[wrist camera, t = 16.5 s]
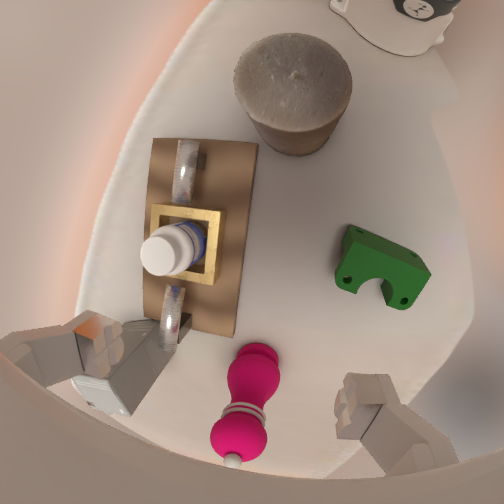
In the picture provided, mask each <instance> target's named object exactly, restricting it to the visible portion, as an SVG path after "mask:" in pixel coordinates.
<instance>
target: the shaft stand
mask: <svg viewBox="0 0 504 504" xmlns="http://www.w3.org/2000/svg"><path fill="white" fill-rule="evenodd" d="M257 151H258V144H257V143H249V142H238V141H225V140H209V139H184V138H153V144H152V151H151V159H150V167H149V176H148V186H147V196H146V209H145V224H144V241H145V240H147V239H148V238H149V237H150V235H151V234H152V233H153V232H154V231H155V230H156V229H158V228H160V227H162V226H166V225H170V224H174V223H177V222H181V221H185V220H193V221H196V222H198V223H200V224H201V225H202V226H204V228H205V229H206V230H207V232H208V238H207V249H206V254H205V255H204V256H203V257H202V258H201V259H199V260H198V261H197V262H195V263H194V264H193V265H191V266H190V267H189V268H187V269H186V270H185V271H183V272H182V273H180V274H177V275H163V276H156V275H153V274H151V273H149V272H148V271H147V270H146V269H145V267H144V266H143V309H144V317H147V318H150V319H154V320H158V321H161V323H160V330H159V338H158V346H157V347H158V348H159V349H160V350H163V351H168V352H174V351H176V348H177V344H179V343H180V342H181V341H182V339H183V338H184V336H185V335H186V334H187V332H188V331H189V330H190V329H193V330H197V331H202V332H206V333H210V334H215V335H220V336H224V337H229V338H233V335H234V332H235V324H236V316H237V307H238V299H239V291H240V283H241V275H242V267H243V259H244V251H245V243H246V235H247V227H248V219H249V212H250V204H251V196H252V189H253V181H254V173H255V166H256V158H257Z"/></svg>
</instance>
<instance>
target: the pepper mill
mask: <svg viewBox="0 0 504 504" xmlns="http://www.w3.org/2000/svg"><path fill="white" fill-rule="evenodd" d="M227 380H228V387H229V390H230V393H231V397H232V400H231V403H230V404H229V405H227V406H226V407H225V408H224V410H223V414H222V415H221V419H220V420H218V421H217V422H216V423H215V424H214V426H213V428H212V430H211V435H210V441H211V445H212V447H213V449H214V450H215V452H216V453H218V454H219V455H220V456H221V457H223V458H224V464H225V466H226V467H229V468H233V469H236V468H238V467H239V466H240V465H241V463H242V462H247V461H250V460H253V459H255V458H257V457H258V456H259V455H260V454H261V453H262V452H263V450H264V449H265V447H266V443H267V433H266V431H265V429H264V427H265V421H266V416H265V414H264V412H263V407H264V404H265V403H266V402H267V401H268V400H269V399H270V398H271V397H272V395H273V394H274V393H275V391H276V390H277V388H278V385H279V381H280V372H279V369H278V356H277V354H276V353H275V351H274V350H273V349H272V348H270V347H269V346H267V345H264V344H259V343H253V344H248V345H246V346H244V347H243V348H242V349H241V350H240V351H239V353H238V355H237V358H236V359H235V360H234V361H233V362H232V364H231V365H230V367H229V370H228V375H227Z"/></svg>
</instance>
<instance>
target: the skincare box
mask: <svg viewBox="0 0 504 504" xmlns="http://www.w3.org/2000/svg"><path fill="white" fill-rule="evenodd" d="M160 323H161V321H158V320H146V321H135V322H127V323H125V324H123V325H122V333H121V335H120V337H121V339H122V340H123V342H124V353H123V355H122V358H121V360H120V361H119V362H118V363H117V364H114V365H111V366H110V367H111V371H110V372H109V373H108V374H107V375H106V376H105V377H104V378H103V379H102V380H100V379H98V378H96V377H93V376H91V375H89V374H87V373H85V372H84V373H83V374H80V375H78V376H75V377H72V380H73V381H74V383H75V385H76V386H77V388H78V389H79V391H80V392H81V394H82V396H83V397H84V399H85V400H86V402H87V403H88V405H89V406H90V407H91V408H94V409H98V410H102V411H104V412H106V413H108V414H118V415H123V416H127V417H131V416H132V414H133V413H134V411H135V410H136V408H137V407H138V405H139V404H140V402H141V401H142V399H143V398H144V396H145V395H146V394H147V392H148V391H149V389H150V388H151V386H152V385H153V383H154V382H155V380H156V379H157V377H158V376H159V375H160V373H161V372H162V370H163V369H164V367H165V366H166V364H167V363H168V362H169V360H170V359H171V357H172V356H173V354H174V353H175V351H174V352H168V351H163V350H160V349H159V348H158V347H157V346H158V338H159V330H160Z"/></svg>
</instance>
